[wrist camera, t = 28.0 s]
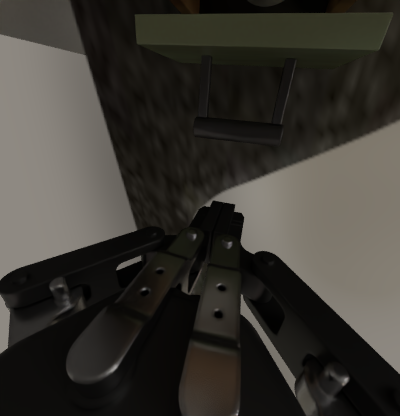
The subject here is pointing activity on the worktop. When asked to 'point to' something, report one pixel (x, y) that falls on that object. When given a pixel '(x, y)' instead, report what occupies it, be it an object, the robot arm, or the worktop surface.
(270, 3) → the grey cylinder
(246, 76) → the worktop surface
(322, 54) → the drawer
